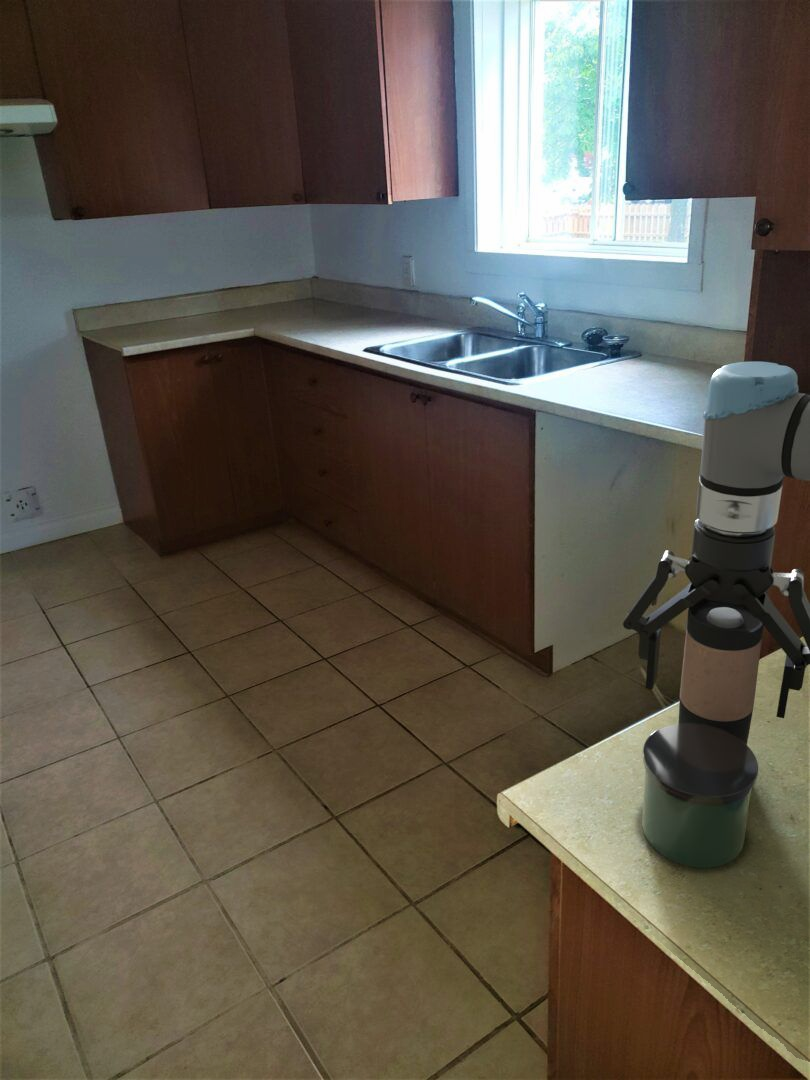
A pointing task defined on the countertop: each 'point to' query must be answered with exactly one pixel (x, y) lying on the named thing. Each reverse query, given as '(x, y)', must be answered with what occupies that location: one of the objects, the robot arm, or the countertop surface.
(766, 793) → the countertop surface
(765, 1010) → the countertop surface
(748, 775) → the jar
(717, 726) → the travel mug
